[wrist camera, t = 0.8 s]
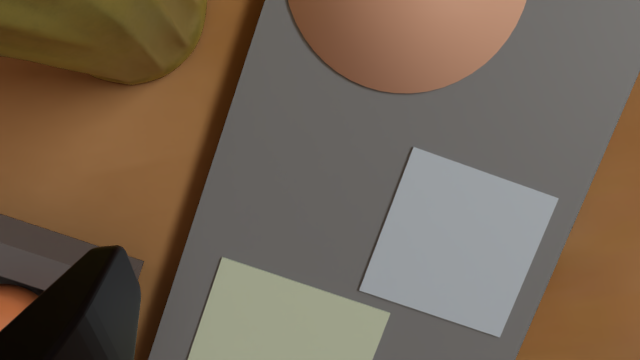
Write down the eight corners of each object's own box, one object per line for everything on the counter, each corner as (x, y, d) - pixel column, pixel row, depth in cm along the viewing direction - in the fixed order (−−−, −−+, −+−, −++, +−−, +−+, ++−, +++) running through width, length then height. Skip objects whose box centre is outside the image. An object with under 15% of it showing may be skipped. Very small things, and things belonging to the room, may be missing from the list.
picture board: (420, 555, 24) (424, 573, 23) (117, 463, 23) (109, 477, 22) (688, -70, 20) (705, -78, 19) (336, -209, 19) (337, -224, 18)
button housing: (96, 412, 23) (69, 450, 20) (-67, 361, 22) (-115, 394, 20) (143, 261, 22) (122, 282, 19) (-26, 205, 21) (-71, 219, 19)
